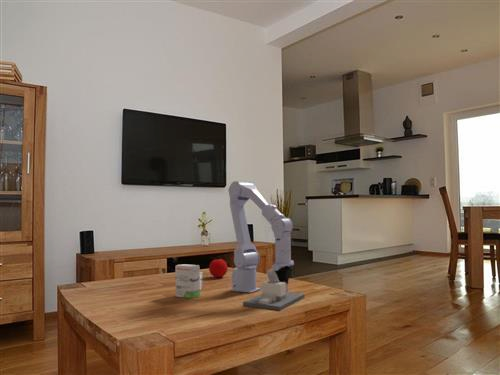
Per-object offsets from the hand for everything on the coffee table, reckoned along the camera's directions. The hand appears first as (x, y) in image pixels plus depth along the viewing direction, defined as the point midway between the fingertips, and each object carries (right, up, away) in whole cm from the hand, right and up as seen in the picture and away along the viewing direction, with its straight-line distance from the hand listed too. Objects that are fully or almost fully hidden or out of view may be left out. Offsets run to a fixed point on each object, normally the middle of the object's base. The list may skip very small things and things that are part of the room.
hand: (283, 287), depth 136 cm
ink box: (-36, -5, +4) cm, 37 cm away
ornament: (-28, -7, +43) cm, 51 cm away
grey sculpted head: (-2, -6, +28) cm, 29 cm away
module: (-4, -2, -7) cm, 9 cm away
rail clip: (-1, -1, -2) cm, 2 cm away
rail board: (-4, -3, -6) cm, 8 cm away
